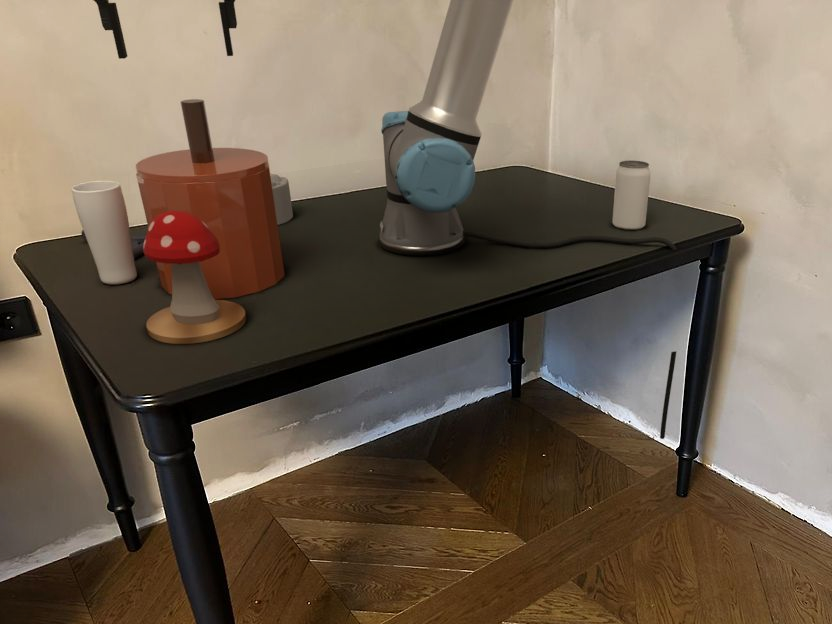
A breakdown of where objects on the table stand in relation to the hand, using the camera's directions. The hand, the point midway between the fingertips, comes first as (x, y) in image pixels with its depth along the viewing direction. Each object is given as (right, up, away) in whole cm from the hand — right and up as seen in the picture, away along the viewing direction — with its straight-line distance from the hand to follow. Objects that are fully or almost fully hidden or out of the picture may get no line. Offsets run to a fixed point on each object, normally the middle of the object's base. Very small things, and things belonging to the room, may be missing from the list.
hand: (177, 56), depth 103 cm
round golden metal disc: (+1, -36, +3) cm, 36 cm away
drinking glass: (-17, -28, +18) cm, 37 cm away
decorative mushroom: (+1, -35, +3) cm, 36 cm away
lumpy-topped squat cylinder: (-4, -12, +47) cm, 48 cm away
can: (+69, -14, +46) cm, 84 cm away
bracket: (-24, -20, +33) cm, 46 cm away
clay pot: (-1, -27, +19) cm, 33 cm away
